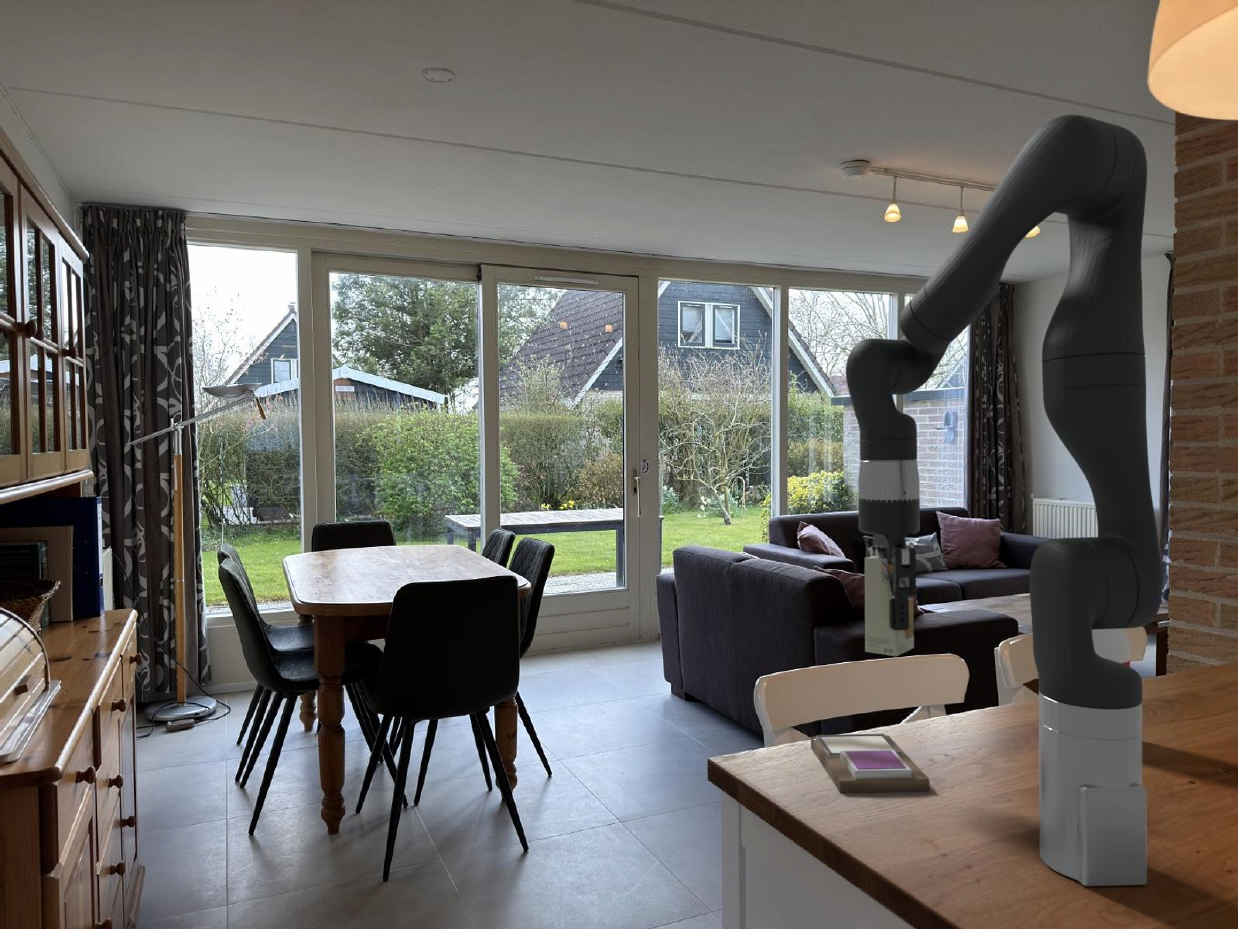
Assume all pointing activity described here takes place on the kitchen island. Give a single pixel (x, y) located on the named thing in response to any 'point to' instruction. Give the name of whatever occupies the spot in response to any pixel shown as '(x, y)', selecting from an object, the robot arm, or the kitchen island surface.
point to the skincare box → (883, 614)
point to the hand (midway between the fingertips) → (890, 623)
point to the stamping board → (868, 764)
